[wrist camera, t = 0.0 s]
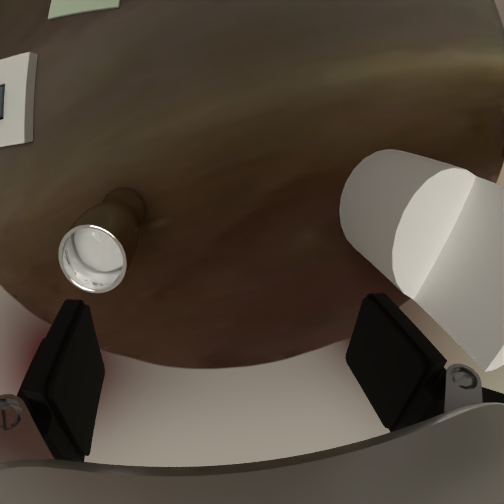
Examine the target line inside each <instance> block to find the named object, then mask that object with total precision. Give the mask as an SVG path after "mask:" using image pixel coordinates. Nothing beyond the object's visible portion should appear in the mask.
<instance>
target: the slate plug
mask: <svg viewBox="0 0 504 504" xmlns="http://www.w3.org/2000/svg"><path fill="white" fill-rule="evenodd" d="M4 94H5V87H0V118H3V117H4Z"/></svg>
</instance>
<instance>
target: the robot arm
mask: <svg viewBox="0 0 504 504" xmlns="http://www.w3.org/2000/svg"><path fill="white" fill-rule="evenodd" d="M346 362H347V364H348V366H349V367H350V369H351V371H352V372H353V374H354V376H355V377H356V379H357V381H358V382H359V384H360V386H361V388H362V389H363V391H364V393H365V394H366V396H367V398H368V400H369V401H370V403H371V405H372V406H373V408H374V410H375V412H376V413H377V415H378V417H379V418H380V420H381V422H382V424H383V425H384V426H385V427H386V428H389V430H390V433H388V434H384V435H381V436H378V437H375V438H371V439H368V440H364V441H360V442H357V443H353V444H349V445H345V446H341V447H337V448H333V449H329V450H324V451H319V452H315V453H310V454H304V455H299V456H293V457H288V458H281V459H275V460H268V461H260V462H252V463H244V464H232V465H219V466H202V467H144V466H122V465H109V464H98V463H89V462H84V457H85V455H86V456H88V455H89V454H90V450H91V443H92V437H93V430H94V425H95V419H96V414H97V408H98V404H99V399H100V393H101V389H102V384H103V380H104V375H105V368H104V363H103V360H102V357H101V353H100V349H99V345H98V341H97V337H96V333H95V329H94V325H93V321H92V316H91V312H90V308H89V305H85V304H84V302H83V301H82V300H70V299H67V300H65V302H64V303H63V305H62V307H61V309H60V311H59V313H58V314H57V316H56V318H55V320H54V322H53V324H52V326H51V328H50V330H49V332H48V334H47V336H46V338H44V339H43V340H42V342H41V343H40V345H39V347H38V350H37V351H36V354H35V356H34V358H33V360H32V362H31V364H30V366H29V369H28V371H27V373H26V375H25V378H24V380H23V382H22V385H21V387H20V390H19V392H18V394H17V396H15V395H12V394H4V395H0V504H504V394H502V393H499V392H496V391H493V390H490V389H487V388H483V387H482V386H481V380H480V377H479V375H478V374H477V373H476V372H475V371H474V370H473V369H472V368H470V367H468V366H466V365H463V364H453V365H451V366H449V367H448V369H447V370H446V369H445V368H444V365H445V364H446V362H447V360H446V359H445V358H444V357H443V355H442V354H441V353H440V352H439V351H438V350H437V349H436V348H435V347H434V346H433V344H432V343H431V342H430V341H429V340H428V339H427V338H426V337H425V336H424V335H423V333H422V332H421V331H420V330H419V329H418V328H417V327H416V326H415V325H414V324H413V323H412V321H411V320H410V319H409V318H408V317H407V316H406V315H405V314H404V313H403V312H402V311H401V310H400V309H399V308H398V307H397V306H396V305H395V304H394V303H393V301H392V300H391V299H390V298H389V297H388V296H387V295H386V294H384V293H370V294H368V295H367V296H366V298H364V299H363V301H362V304H361V308H360V311H359V314H358V318H357V321H356V324H355V328H354V331H353V334H352V337H351V340H350V343H349V347H348V350H347V353H346Z"/></svg>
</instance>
